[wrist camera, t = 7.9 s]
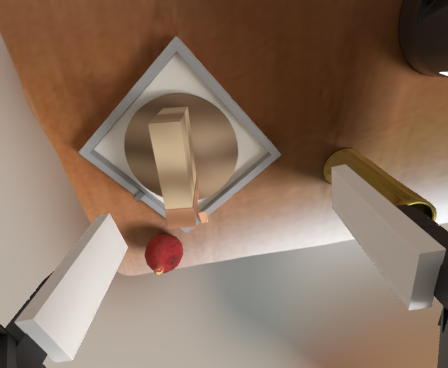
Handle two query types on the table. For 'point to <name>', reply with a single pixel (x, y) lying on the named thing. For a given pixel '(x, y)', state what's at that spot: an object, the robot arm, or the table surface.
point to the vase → (378, 180)
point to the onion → (163, 253)
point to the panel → (189, 84)
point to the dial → (181, 152)
